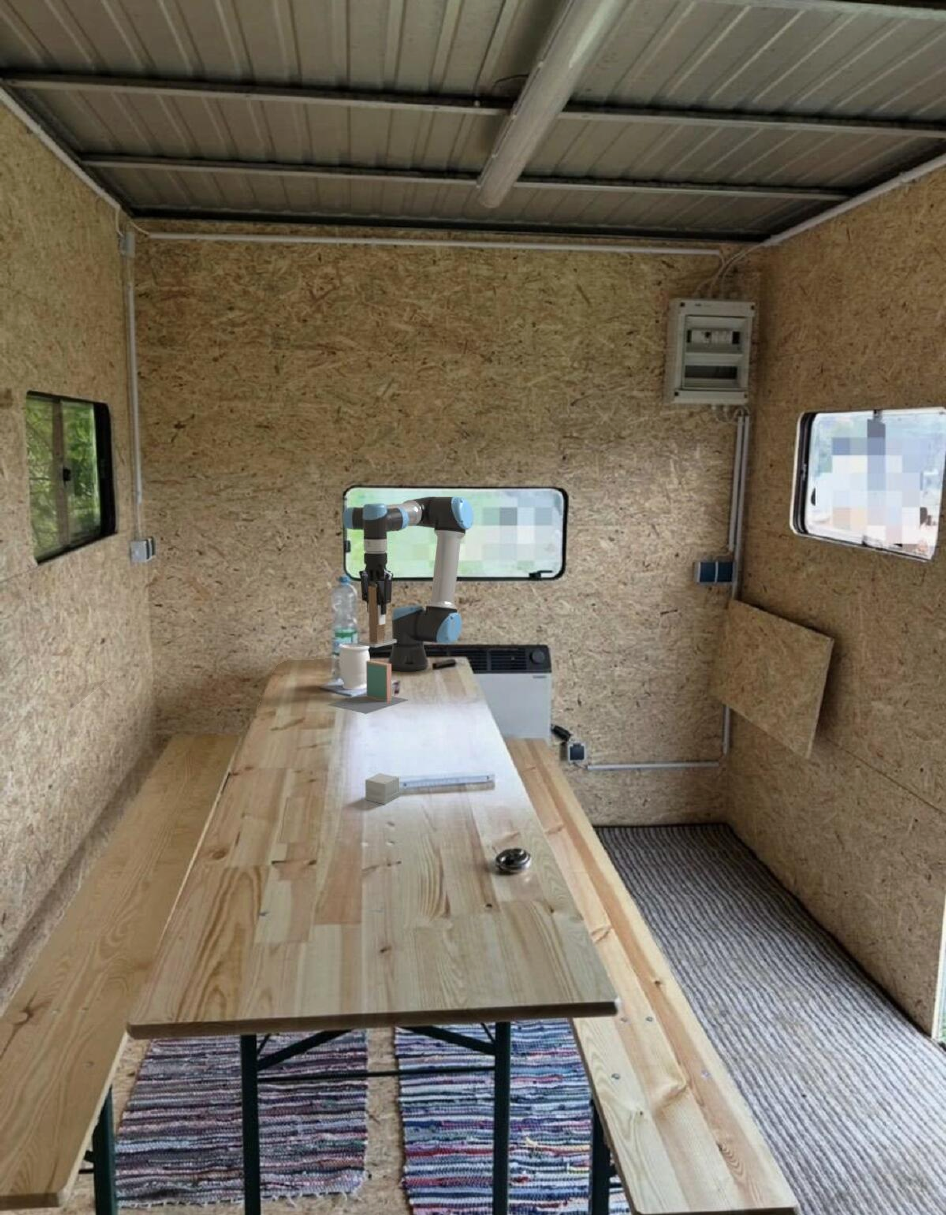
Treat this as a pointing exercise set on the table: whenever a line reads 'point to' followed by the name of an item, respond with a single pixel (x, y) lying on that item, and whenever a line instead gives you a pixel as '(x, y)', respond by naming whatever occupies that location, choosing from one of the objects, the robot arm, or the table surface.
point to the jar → (353, 665)
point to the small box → (382, 788)
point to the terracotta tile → (378, 680)
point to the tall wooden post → (375, 623)
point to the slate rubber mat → (365, 703)
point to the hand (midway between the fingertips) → (377, 623)
